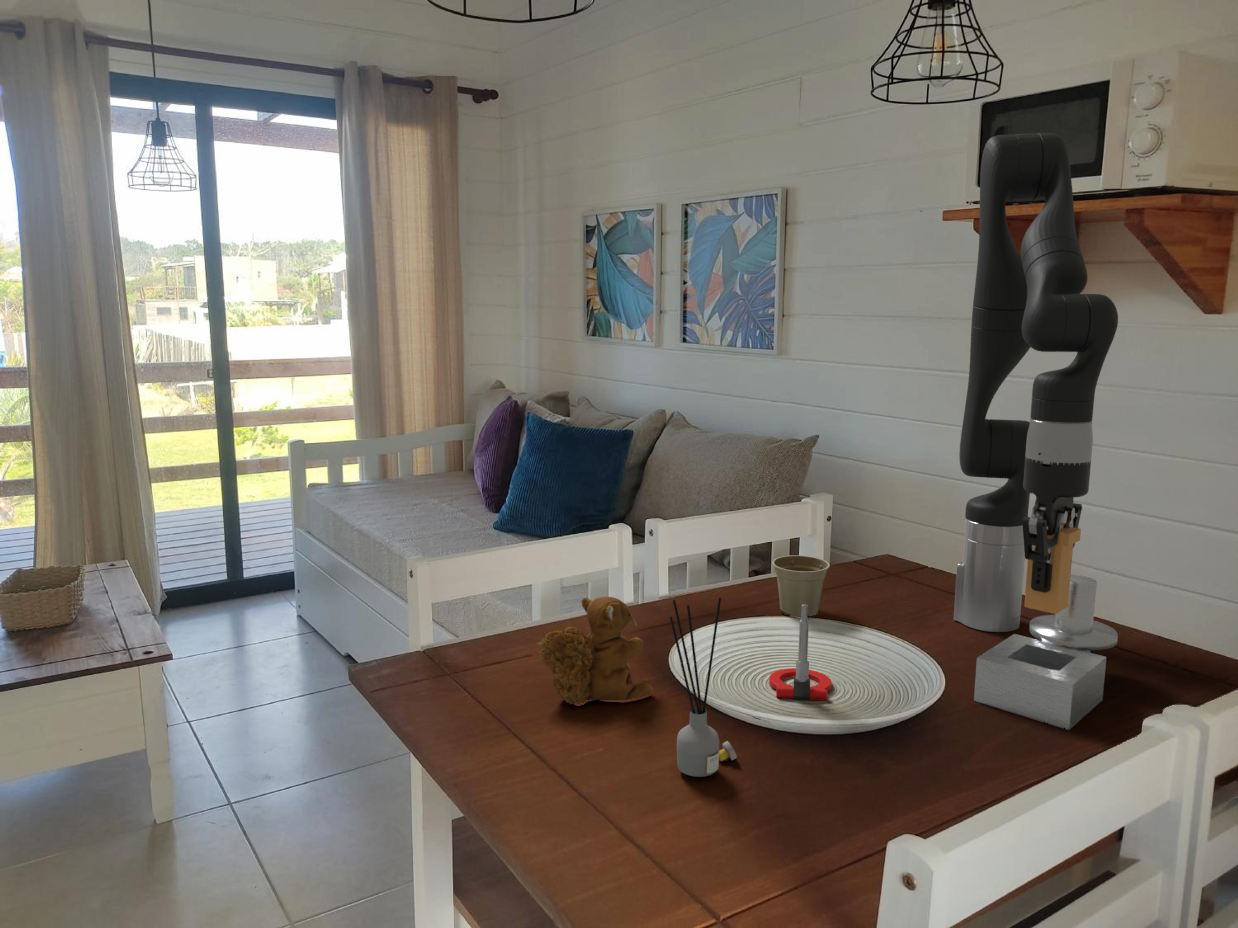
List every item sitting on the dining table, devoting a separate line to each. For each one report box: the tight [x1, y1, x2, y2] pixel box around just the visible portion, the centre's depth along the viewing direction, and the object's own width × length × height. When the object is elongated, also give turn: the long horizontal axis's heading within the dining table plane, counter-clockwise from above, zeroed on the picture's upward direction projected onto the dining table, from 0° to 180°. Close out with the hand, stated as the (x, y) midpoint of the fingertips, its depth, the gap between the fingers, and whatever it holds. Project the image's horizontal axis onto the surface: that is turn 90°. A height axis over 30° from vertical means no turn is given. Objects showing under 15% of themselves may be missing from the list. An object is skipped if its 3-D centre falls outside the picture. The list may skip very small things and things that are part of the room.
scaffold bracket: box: [973, 574, 1119, 731], centre depth 125 cm, size 12×22×14 cm, turn 135°
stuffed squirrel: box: [536, 596, 654, 705], centre depth 124 cm, size 10×14×13 cm
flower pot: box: [771, 554, 831, 618], centre depth 156 cm, size 9×9×9 cm
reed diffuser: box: [669, 597, 738, 778], centre depth 104 cm, size 10×7×20 cm
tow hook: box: [768, 604, 833, 701], centre depth 126 cm, size 8×13×9 cm
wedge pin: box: [1023, 527, 1082, 615], centre depth 119 cm, size 6×4×10 cm
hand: (1047, 586), depth 120 cm, fingers closed on wedge pin, 4 cm apart
